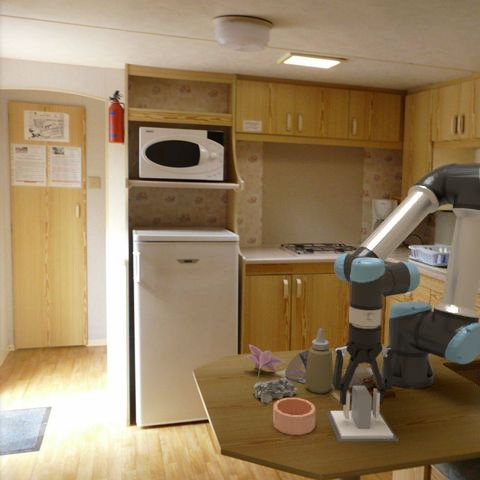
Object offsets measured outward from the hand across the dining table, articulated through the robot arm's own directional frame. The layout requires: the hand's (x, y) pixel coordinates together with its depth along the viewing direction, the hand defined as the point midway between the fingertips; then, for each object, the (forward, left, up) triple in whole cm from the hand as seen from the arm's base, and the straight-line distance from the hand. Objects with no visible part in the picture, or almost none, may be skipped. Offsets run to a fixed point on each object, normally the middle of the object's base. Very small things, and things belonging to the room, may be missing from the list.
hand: (360, 416), depth 120 cm
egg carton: (+19, -18, -3) cm, 26 cm away
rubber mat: (0, 0, -3) cm, 3 cm away
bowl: (+16, -1, -3) cm, 16 cm away
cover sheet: (0, 0, -2) cm, 2 cm away
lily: (+21, -32, -3) cm, 39 cm away
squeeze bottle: (+6, -21, -3) cm, 22 cm away
